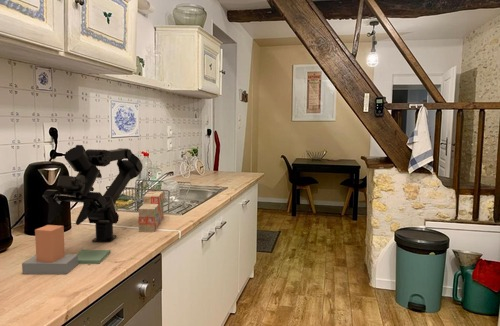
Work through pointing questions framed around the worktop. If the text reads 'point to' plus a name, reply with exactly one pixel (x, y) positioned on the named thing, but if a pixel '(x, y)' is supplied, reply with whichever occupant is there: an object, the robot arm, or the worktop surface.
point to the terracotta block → (49, 243)
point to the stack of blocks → (151, 211)
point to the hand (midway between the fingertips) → (62, 223)
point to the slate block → (50, 265)
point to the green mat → (92, 256)
